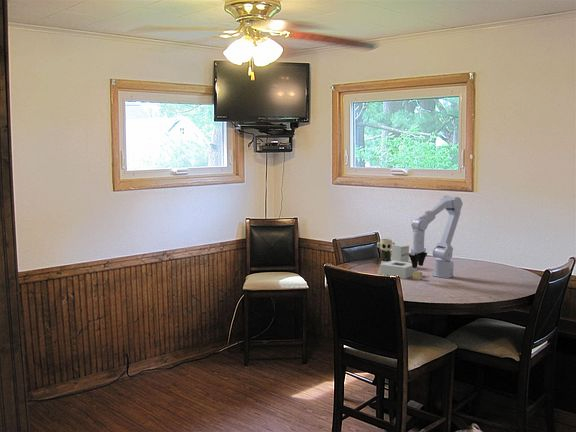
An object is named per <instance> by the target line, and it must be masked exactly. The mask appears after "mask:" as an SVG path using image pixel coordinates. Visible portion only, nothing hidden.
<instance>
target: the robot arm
mask: <svg viewBox="0 0 576 432" xmlns="http://www.w3.org/2000/svg"><path fill="white" fill-rule="evenodd" d="M462 207H463V201H462V199H461V197H459V196H450V195H449V196H448V195H444V196H443V197H442V198H440V201H439V202H438V203H437V204H436V205H435V206H434V207H433V208H432V209H431V210H425V211H424V213H423V214H422V215H421V216H419V217H418V218H415V219H414V220H413V221H412V223H411V228H412V233H413V236H412V237H413V239H412V240H413V243H412V248H411V249H410V254H409V258H410V263H412V267H413V268H417V269H418V266H420V267H421V266H422V267H423V265H424V262H425V259H426V257H427V255H428V252H426V247H425V235H426V234H425V232H426V230H427V228H428V226H429V224H431V222H433V221H434V220H435V219H436V216H437V215H438V214H440V213H441V212H442V211H444V210H446V212H448V216H447V217H448V218H447V221H446V224H445V226H444V231H443V233H442V237H441V239H440V241H439V242H437V243H436V245H435V247H434V248H433V250H432V257H433V258H434V260H435V261H434V262H435V263H434V265H435V266H434V274H431V276H432V277H439V278H444V279H449V278H452V277H454V269H455V268H454V265H455V264H454V262H453V261H451V259H452V257H453V250H454V247H453V246H452V245H451V243H452V241H453V238H454V235H455V231H456V228H457V225H458V222H459V220H460V216H461V210H462Z"/></svg>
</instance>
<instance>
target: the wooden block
mask: <svg viewBox="0 0 576 432" xmlns="http://www.w3.org/2000/svg"><path fill="white" fill-rule="evenodd" d="M412 280H415V281H422V280H423V272H422V271H418V270H417V271H414V272H413V276H412Z"/></svg>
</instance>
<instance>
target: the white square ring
mask: <svg viewBox="0 0 576 432" xmlns="http://www.w3.org/2000/svg"><path fill="white" fill-rule="evenodd" d="M379 265H380V266H379V267H380V268H379V275H380V274H384V275H398V276H400V278H399V279H404V280H405V279H408V278H411V277H413V272H414V271H418V267H417V268H413V267H412V262H410V261H408V262H401V261H394V260H392V261H391V260H388V261H386V262H384V263H380V264H379Z"/></svg>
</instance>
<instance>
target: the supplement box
mask: <svg viewBox="0 0 576 432" xmlns="http://www.w3.org/2000/svg"><path fill="white" fill-rule="evenodd" d="M409 253H410V245H409V244H408V245H407V244H403V243H402V244H399V243H398V244H395V245H393V244H392V249H391V260H390V261H392V260H394V261H401V262H409V258H410V257H409Z"/></svg>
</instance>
